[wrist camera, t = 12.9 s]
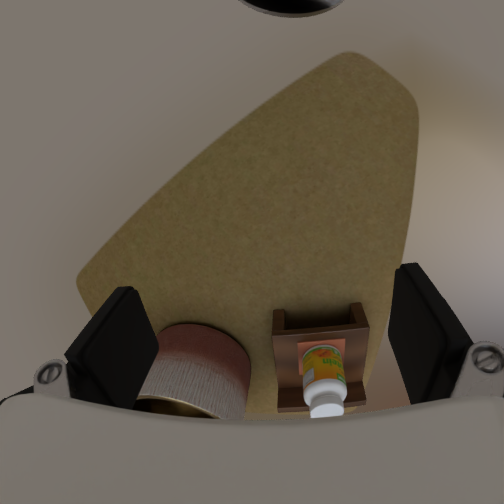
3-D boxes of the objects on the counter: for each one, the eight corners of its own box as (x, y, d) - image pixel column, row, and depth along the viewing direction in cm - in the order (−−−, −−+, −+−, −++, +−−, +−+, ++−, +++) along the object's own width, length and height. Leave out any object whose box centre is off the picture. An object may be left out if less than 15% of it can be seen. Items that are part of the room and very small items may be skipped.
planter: (256, 328, 45) (245, 410, 31) (247, 397, 53) (237, 467, 38) (148, 311, 46) (105, 379, 32) (159, 381, 53) (132, 443, 39)
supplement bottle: (348, 350, 38) (359, 406, 29) (326, 374, 40) (332, 428, 31) (315, 338, 37) (321, 395, 28) (294, 363, 39) (295, 419, 31)
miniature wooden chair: (273, 309, 43) (270, 357, 34) (360, 302, 41) (376, 347, 32) (280, 366, 48) (277, 412, 39) (355, 359, 46) (365, 405, 37)
